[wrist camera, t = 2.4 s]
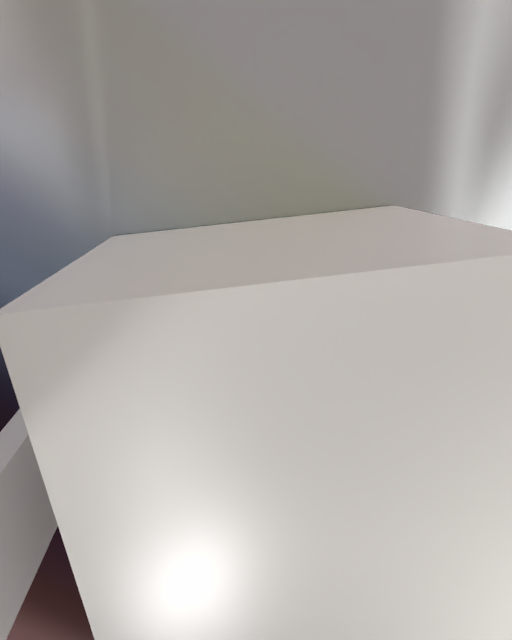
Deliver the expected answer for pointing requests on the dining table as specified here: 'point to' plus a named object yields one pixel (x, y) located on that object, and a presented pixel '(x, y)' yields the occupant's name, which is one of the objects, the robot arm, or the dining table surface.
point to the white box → (279, 427)
